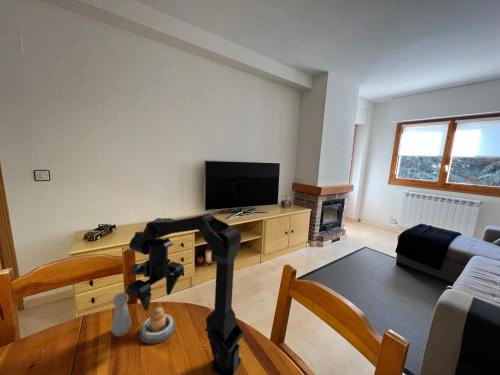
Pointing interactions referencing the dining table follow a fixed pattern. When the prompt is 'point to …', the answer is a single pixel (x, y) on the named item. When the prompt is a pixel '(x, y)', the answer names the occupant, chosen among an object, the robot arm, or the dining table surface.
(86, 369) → the dining table surface
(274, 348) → the dining table surface
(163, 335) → the grey shallow dish
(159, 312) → the beige tiered cylinder
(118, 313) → the salt shaker
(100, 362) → the dining table surface
